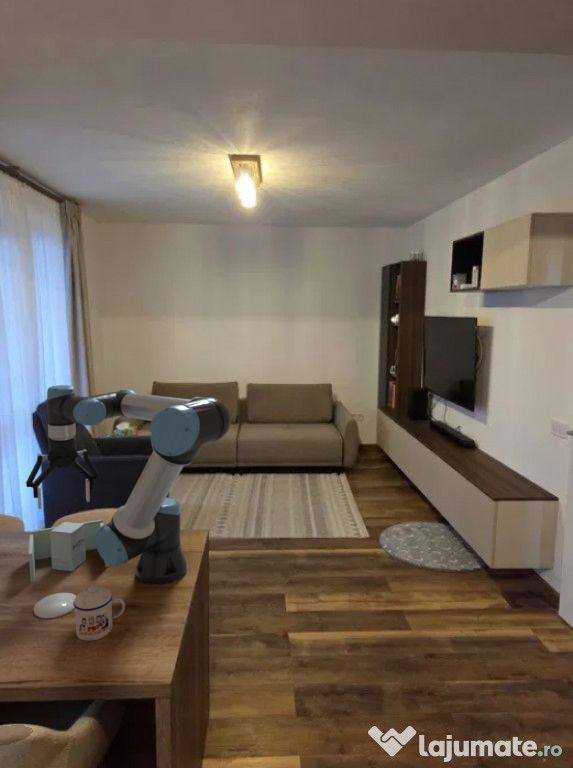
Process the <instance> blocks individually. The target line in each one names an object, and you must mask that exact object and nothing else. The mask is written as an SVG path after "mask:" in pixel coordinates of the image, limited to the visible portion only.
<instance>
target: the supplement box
mask: <svg viewBox="0 0 573 768" xmlns="http://www.w3.org/2000/svg"><path fill="white" fill-rule="evenodd" d="M82 523H83V522H70V521H69V522H68V521H64V522H62V523H61V524H59V525H58V526H55V527H56V528H55V529H53V530H52V531H50V539H51V556H52V557H51V569H52V570H59V571H65V572H67V571H68V572H74V571H75V569H77V568H78V567H79V566H80V565H81V564H82V563H84V562H85V561H87V557H86V556H87V555H86V551H85V533H84V524H82Z"/></svg>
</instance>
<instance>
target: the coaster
mask: <svg viewBox="0 0 573 768" xmlns="http://www.w3.org/2000/svg"><path fill="white" fill-rule="evenodd" d="M76 596H77V595H75V593H71V592H57V593H54V594H53V593H52V594H50V595H48V596H44V597H43V598H41V599H40V600H38V601H37V602H36V604H35V605H34V607H33V613H34V615H35V617H38V618H40V619H55V618H58V617H59V618H60V617H62V616H65V615H67V614H69V613H71V612H72V611H75V607H74V605H73V602H74V599H75V597H76Z"/></svg>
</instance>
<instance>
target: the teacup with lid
mask: <svg viewBox="0 0 573 768" xmlns="http://www.w3.org/2000/svg"><path fill="white" fill-rule="evenodd" d="M115 603H120V604H121V608H120V609H119V611H118V612H116V613H113V605H112V604H115ZM125 603H126V602H125V601H124V600H123V599H122V598H120V597H116V598H113V594H112V592H111V590H109V589H108V588H106V587H97V586H96V585H92V586H89V587H88V589H85V590H82V591H81V592H79V593H78V594H77V595H76V597H75V599H74V602H73V605H74V607H75V609H74V619H75V634H76V637H77V638H78V639H80V640H81V641H84V642H87V641H97V640H99V639H102V638H104V637H106V636H108V635H109V634H110V632H111V631H112V629H113V623H114V622H113V620H114V619H117V618H118V617H120V616H121V615H122V614H123V612H124V611H125V608H126V604H125Z"/></svg>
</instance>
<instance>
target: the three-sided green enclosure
mask: <svg viewBox="0 0 573 768" xmlns="http://www.w3.org/2000/svg"><path fill="white" fill-rule="evenodd" d="M81 523H82V524H84V533H85V552H86V551H92V550H97V547H96V544H95V533H96V531H97V529H98V528H100V527H101V526H102V525H105V524H104V520H103V519H97V520H91V521H85V522H81ZM56 527H57V526H55V527H49V528H48V527H47V528H42V529H41V528H40V529H35V530H30V531H29V541H28V542H29V543H28V563H29V578H30V583H35V581H36V580H35V576H36V575H35V574H36V573H35V572H36V571H35V570H36V561H37V560H38V561H39V560H43V559H49V558H52V556H51V539H50V531H52V530H53V529H55V528H56ZM103 561H104V560H103ZM104 566H105V568H108V567H110V565H109V564H108V563H106V562H105V561H104Z"/></svg>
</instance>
